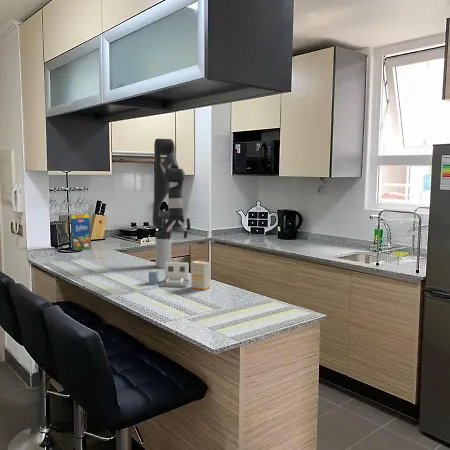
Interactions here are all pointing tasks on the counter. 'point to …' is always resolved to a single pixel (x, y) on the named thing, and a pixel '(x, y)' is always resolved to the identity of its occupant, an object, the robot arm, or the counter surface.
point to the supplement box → (200, 275)
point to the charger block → (153, 277)
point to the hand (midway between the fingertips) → (176, 238)
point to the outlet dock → (175, 275)
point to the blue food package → (80, 232)
